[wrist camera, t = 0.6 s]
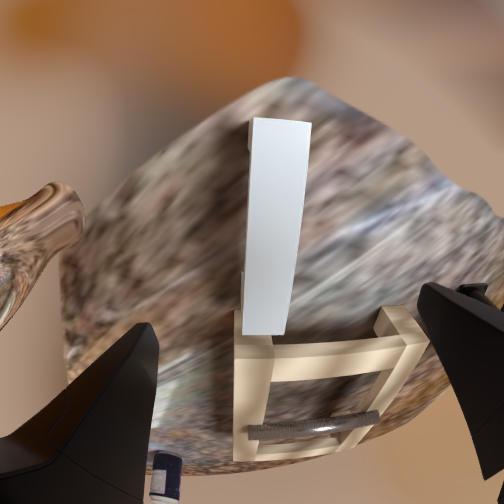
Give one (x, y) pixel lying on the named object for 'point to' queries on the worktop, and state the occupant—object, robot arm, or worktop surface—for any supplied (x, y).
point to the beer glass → (35, 240)
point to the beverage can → (166, 478)
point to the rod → (312, 426)
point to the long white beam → (272, 221)
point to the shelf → (316, 367)
